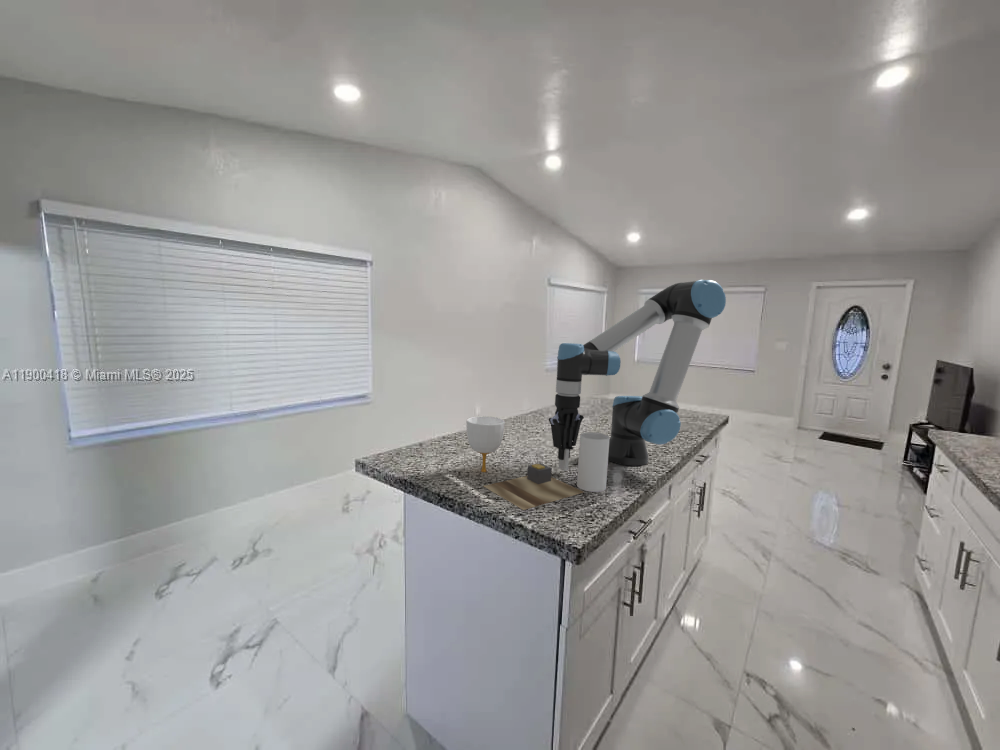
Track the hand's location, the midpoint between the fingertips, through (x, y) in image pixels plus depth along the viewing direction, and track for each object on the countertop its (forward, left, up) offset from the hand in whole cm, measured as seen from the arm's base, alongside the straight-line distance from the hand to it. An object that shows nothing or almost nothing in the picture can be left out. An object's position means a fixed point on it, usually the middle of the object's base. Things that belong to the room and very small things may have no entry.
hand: (563, 469), depth 131 cm
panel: (+16, +5, -3) cm, 17 cm away
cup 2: (0, +12, -3) cm, 12 cm away
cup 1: (+20, -14, -3) cm, 25 cm away
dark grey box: (+10, 0, -2) cm, 10 cm away
